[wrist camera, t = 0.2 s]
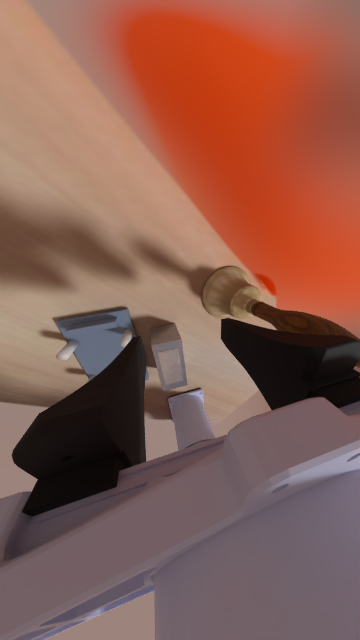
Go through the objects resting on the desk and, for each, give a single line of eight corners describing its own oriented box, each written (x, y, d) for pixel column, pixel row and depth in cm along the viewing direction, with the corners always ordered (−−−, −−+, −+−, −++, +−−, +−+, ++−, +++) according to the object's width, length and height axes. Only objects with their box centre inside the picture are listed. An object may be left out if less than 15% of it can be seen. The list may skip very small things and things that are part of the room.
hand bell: (201, 320, 23) (289, 422, 9) (202, 268, 19) (355, 298, 5) (244, 313, 24) (382, 392, 10) (252, 264, 20) (488, 276, 6)
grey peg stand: (148, 375, 25) (148, 393, 22) (99, 388, 24) (90, 409, 21) (127, 307, 19) (123, 318, 16) (59, 319, 18) (38, 334, 14)
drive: (180, 363, 26) (187, 385, 21) (160, 368, 25) (163, 391, 21) (174, 322, 22) (181, 339, 17) (150, 327, 21) (151, 346, 17)
